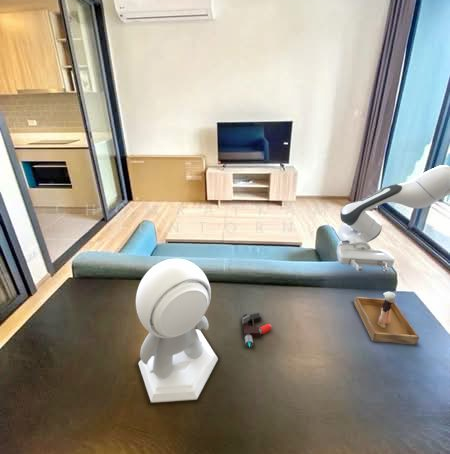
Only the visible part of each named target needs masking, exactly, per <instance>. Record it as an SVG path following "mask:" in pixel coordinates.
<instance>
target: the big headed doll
mask: <svg viewBox="0 0 450 454" xmlns="http://www.w3.org/2000/svg"><path fill="white" fill-rule="evenodd" d="M211 300H212V288H211V285H210V282H209V279H208V277H207V275H206V274H205V272H204V271H203V270H202V269H201V268H200V267H199V266H198V265H196V263H194V262H191V261H190V260H187V259H183V258H169V259H165V260H162V261H160V262H158V263H156V264H155V265H153V266H152V267H151V268H150V269H149V270H148V271H147V272H146V273H145V274H144V275H143V276H142V278H141V280H140V282H139V284H138V287H137V290H136V295H135V309H136V313H137V317H138V319H139V321H140V324H142V326H143V328H144V329H145V330H146V331H147V332H148V334H147V335H146V337H145V339H144V340H143V342H142V344H141V347H140V352H139V357H140V360H139V361H138V363H137V364H138V366H139V370H140V373H141V376H142V380H143V382H144V386H145V389H146V392H147V395H148V397H149V400H150V403H151V404H152V403H153V404H154V403H169V402H181V401H183V402H184V401H196V400H198V398H199V396H200V395H201V392H202V391H203V389H204V387H205V385H206V383H207V381H208V379H209V378H210V375H211V373H212V372H213V370H214V369H215V366H216V364H217V363H218V360H219V358H218V356H217V355H216V352H215V351H214V349H213V348H212V347H211V345H210V344H209V342H208V341H207V339H206V337H205V336H204V334H203V332H202V331H201V330H202V329H204V330H205V331H206V332H207V331H209V321H208V319H207V317H206V316H205V314H206V313H207V310H208V309H209V306H210V303H211ZM196 328H197V329H196Z"/></svg>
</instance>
